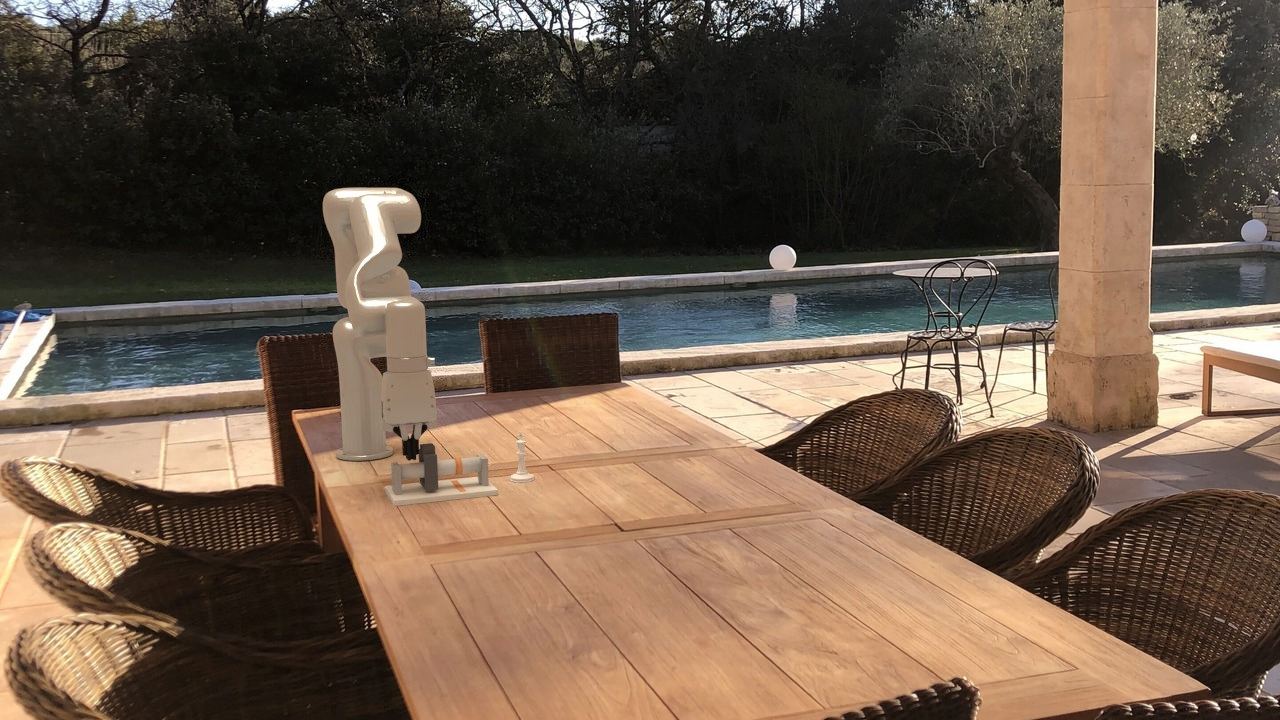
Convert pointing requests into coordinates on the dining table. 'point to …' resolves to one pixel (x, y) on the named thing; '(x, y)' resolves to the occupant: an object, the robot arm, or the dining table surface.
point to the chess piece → (521, 464)
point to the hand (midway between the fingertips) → (411, 458)
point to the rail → (441, 481)
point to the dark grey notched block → (429, 466)
